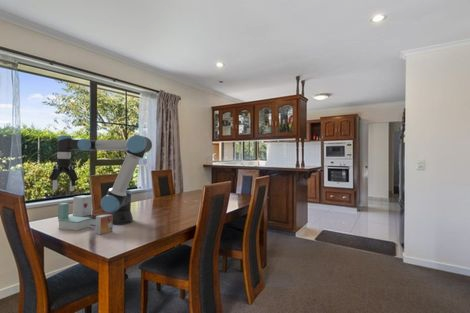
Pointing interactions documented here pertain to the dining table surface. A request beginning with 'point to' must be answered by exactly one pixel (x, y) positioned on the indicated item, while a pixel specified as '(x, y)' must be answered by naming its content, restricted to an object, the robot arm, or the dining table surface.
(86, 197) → the supplement box
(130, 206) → the robot arm
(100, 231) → the small box
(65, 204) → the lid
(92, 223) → the mat
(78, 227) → the tub
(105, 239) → the dining table surface
